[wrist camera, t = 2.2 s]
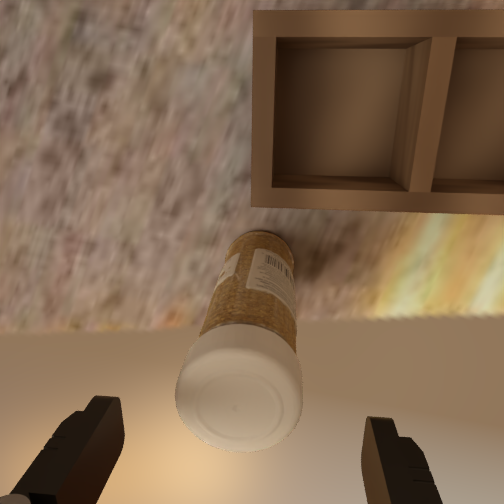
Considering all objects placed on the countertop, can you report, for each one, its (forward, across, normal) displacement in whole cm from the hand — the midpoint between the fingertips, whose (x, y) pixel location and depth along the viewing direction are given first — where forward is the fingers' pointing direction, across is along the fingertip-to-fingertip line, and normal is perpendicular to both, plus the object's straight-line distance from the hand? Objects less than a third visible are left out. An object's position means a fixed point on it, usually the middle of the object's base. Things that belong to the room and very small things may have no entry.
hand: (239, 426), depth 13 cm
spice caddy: (+14, -8, -9) cm, 19 cm away
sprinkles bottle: (+14, 0, 0) cm, 15 cm away
